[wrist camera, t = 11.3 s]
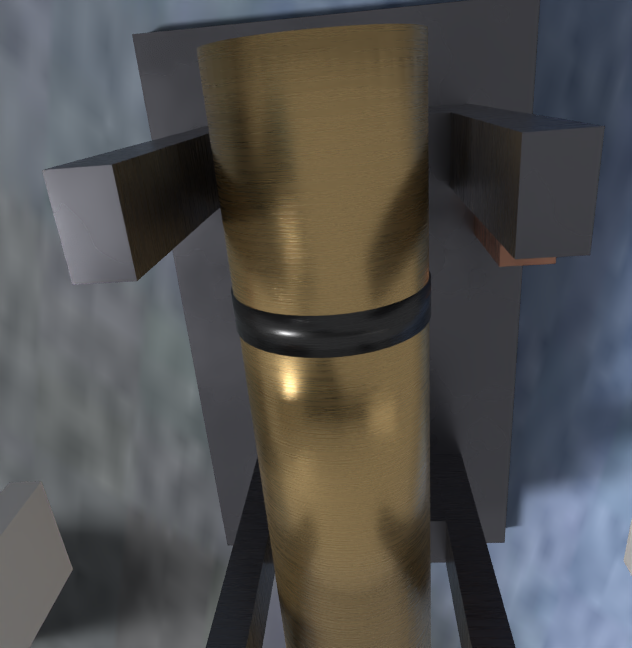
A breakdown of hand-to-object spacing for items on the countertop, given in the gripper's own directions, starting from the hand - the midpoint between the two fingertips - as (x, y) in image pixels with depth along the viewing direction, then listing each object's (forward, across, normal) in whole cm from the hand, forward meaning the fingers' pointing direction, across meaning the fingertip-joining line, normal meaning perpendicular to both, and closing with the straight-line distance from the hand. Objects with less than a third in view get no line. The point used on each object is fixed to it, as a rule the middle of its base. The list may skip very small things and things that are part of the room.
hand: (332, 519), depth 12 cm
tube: (+6, +1, 0) cm, 6 cm away
